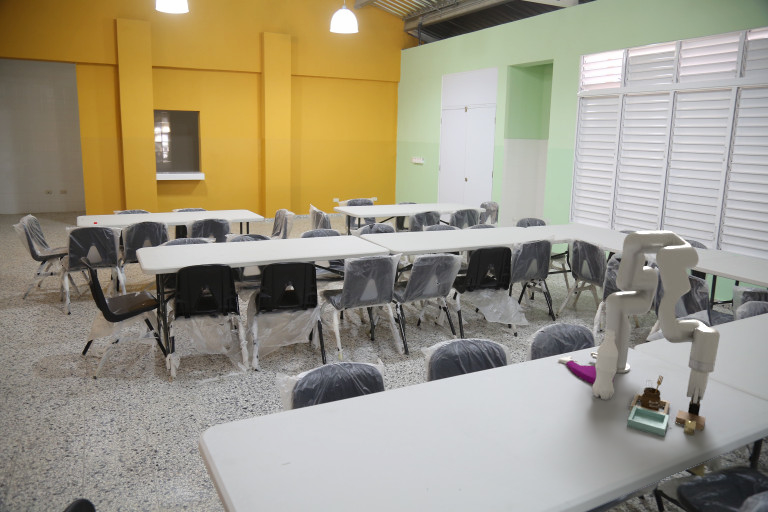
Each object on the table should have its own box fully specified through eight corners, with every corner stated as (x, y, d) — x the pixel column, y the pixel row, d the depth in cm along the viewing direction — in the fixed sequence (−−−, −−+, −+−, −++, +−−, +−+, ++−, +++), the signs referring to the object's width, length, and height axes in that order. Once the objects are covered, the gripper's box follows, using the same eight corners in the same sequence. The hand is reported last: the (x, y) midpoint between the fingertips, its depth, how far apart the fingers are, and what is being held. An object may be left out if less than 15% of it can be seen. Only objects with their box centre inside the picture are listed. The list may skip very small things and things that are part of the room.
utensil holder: (636, 406, 202) (641, 374, 200) (650, 403, 205) (655, 372, 202) (649, 414, 197) (654, 381, 194) (663, 411, 199) (668, 379, 196)
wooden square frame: (630, 410, 199) (631, 405, 199) (635, 398, 208) (636, 393, 208) (665, 419, 193) (666, 414, 193) (669, 406, 202) (670, 401, 202)
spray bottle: (594, 387, 216) (552, 363, 238) (616, 383, 220) (573, 359, 243) (595, 380, 216) (552, 356, 238) (617, 376, 220) (573, 353, 242)
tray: (627, 426, 189) (628, 419, 188) (632, 412, 198) (633, 405, 197) (663, 436, 183) (664, 429, 182) (668, 422, 192) (669, 415, 191)
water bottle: (609, 392, 212) (618, 328, 206) (615, 401, 205) (624, 335, 199) (589, 391, 213) (597, 327, 207) (594, 400, 206) (602, 334, 200)
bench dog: (683, 433, 185) (685, 421, 184) (684, 429, 188) (686, 418, 187) (693, 436, 184) (695, 424, 183) (694, 432, 186) (696, 420, 185)
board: (674, 423, 192) (676, 417, 191) (677, 416, 197) (679, 409, 196) (701, 431, 188) (703, 424, 187) (704, 424, 192) (705, 417, 192)
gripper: (690, 354, 199) (682, 402, 203) (686, 368, 187) (678, 420, 191) (715, 359, 195) (707, 408, 200) (713, 374, 183) (704, 427, 187)
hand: (693, 414), depth 195 cm, fingers closed
